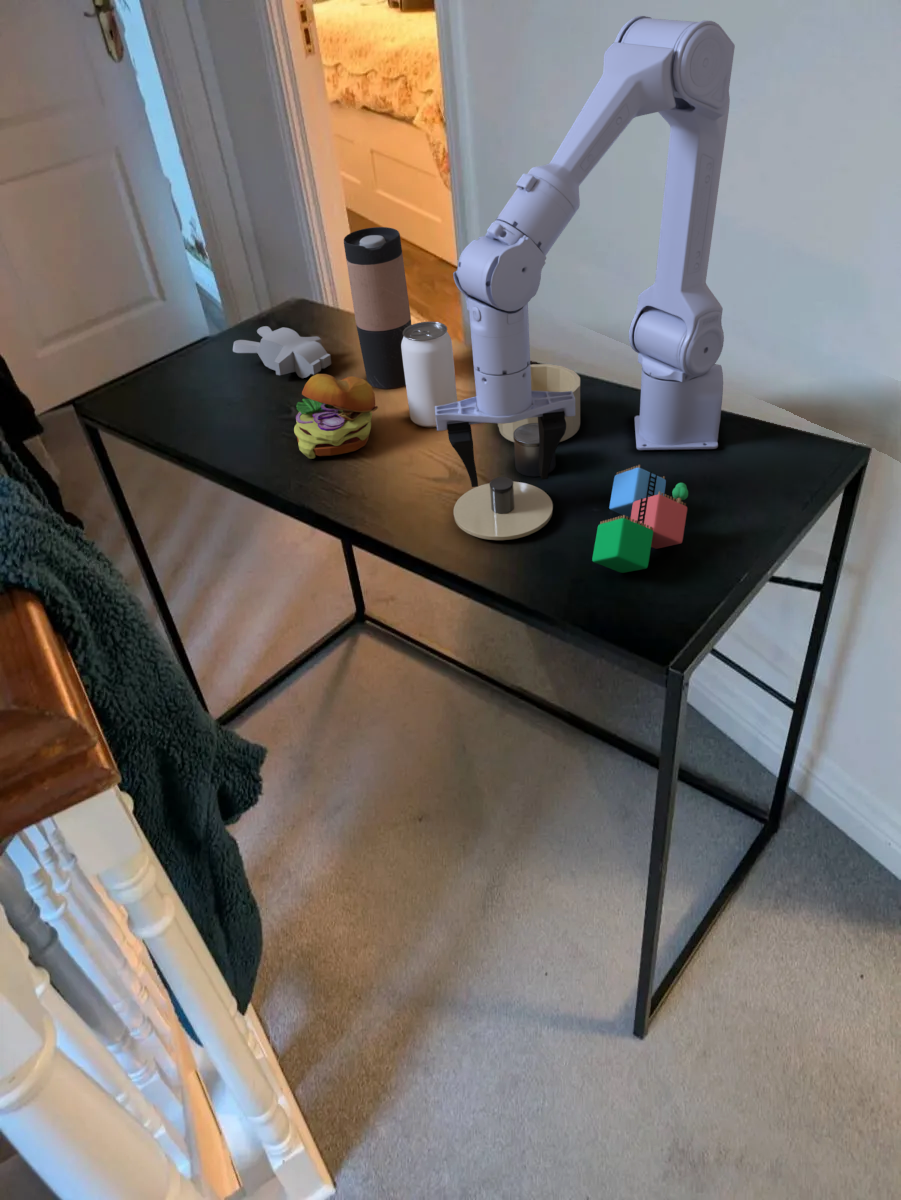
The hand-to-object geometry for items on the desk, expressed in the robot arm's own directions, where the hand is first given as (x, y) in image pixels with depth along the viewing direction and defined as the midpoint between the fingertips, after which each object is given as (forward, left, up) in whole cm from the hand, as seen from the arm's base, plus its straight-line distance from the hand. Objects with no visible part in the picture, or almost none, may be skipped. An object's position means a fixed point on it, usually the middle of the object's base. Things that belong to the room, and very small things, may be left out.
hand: (508, 478), depth 99 cm
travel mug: (+20, -34, -4) cm, 39 cm away
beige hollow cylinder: (-2, -19, -4) cm, 19 cm away
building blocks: (-13, +7, -4) cm, 15 cm away
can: (+12, -21, -4) cm, 25 cm away
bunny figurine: (+37, -39, -4) cm, 53 cm away
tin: (-2, -9, -4) cm, 10 cm away
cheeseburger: (+24, -16, -4) cm, 29 cm away
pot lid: (+1, +2, -3) cm, 4 cm away
